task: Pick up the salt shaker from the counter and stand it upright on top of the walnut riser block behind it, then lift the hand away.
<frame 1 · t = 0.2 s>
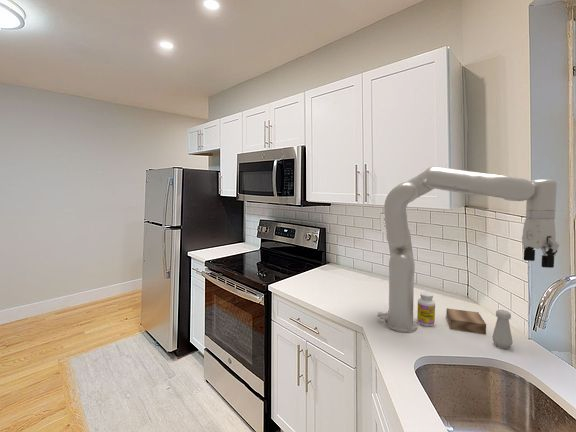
hand: (537, 263, 97), 30 cm above the worktop, tool pointing down, fingers open, 9 cm apart
salt shaker: (501, 346, 100), on the worktop
walnut riser block: (464, 325, 116), on the worktop
supplement bottle: (425, 323, 118), on the worktop
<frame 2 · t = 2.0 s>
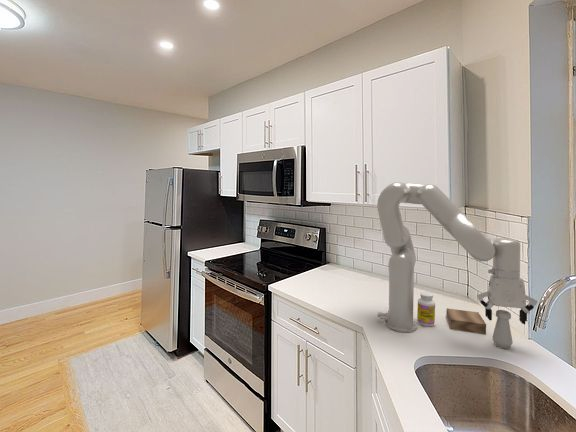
hand: (505, 320, 99), 10 cm above the worktop, tool pointing down, fingers open, 9 cm apart
nothing on the worktop moved.
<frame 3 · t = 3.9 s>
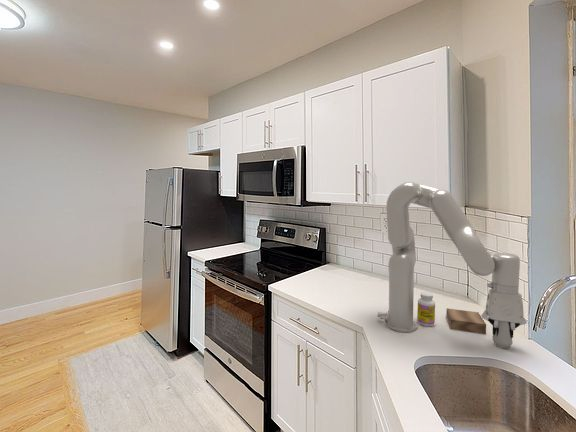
hand: (502, 337, 100), 3 cm above the worktop, tool pointing down, fingers closed on salt shaker, 3 cm apart
salt shaker: (501, 346, 100), on the worktop, touching gripper
everything else where it was.
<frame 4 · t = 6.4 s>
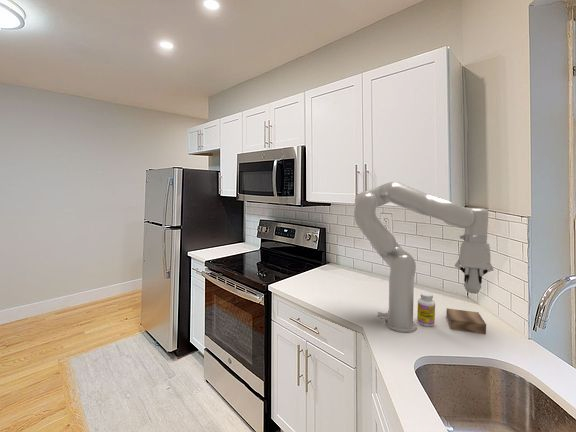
hand: (472, 284, 111), 19 cm above the worktop, tool pointing down, fingers closed on salt shaker, 3 cm apart
salt shaker: (472, 292, 112), point 15 cm above the worktop, touching gripper
everything else where it was.
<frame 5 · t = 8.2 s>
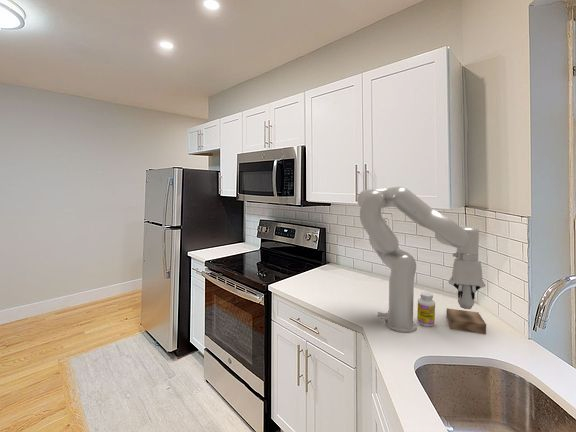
hand: (466, 299, 115), 11 cm above the worktop, tool pointing down, fingers closed on salt shaker, 3 cm apart
salt shaker: (465, 307, 116), point 7 cm above the worktop, touching gripper
everything else where it was.
when the fingers open (9 cm above the worktop, at t = 9.3 s): salt shaker drops 1 cm, resting on walnut riser block.
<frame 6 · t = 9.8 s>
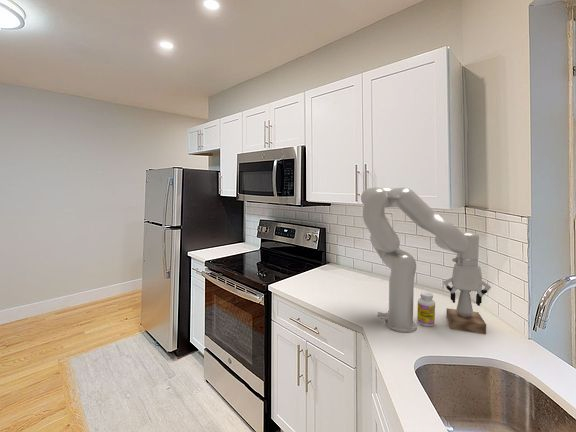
hand: (465, 303, 115), 10 cm above the worktop, tool pointing down, fingers open, 8 cm apart
salt shaker: (464, 316, 116), point 4 cm above the worktop, touching walnut riser block
everything else where it was.
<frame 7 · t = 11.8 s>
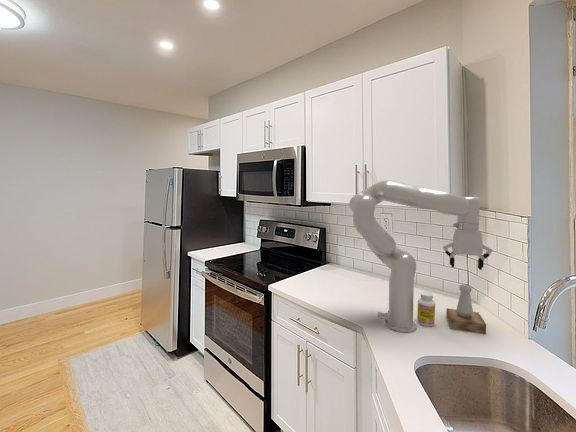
hand: (465, 267, 115), 24 cm above the worktop, tool pointing down, fingers open, 9 cm apart
nothing on the worktop moved.
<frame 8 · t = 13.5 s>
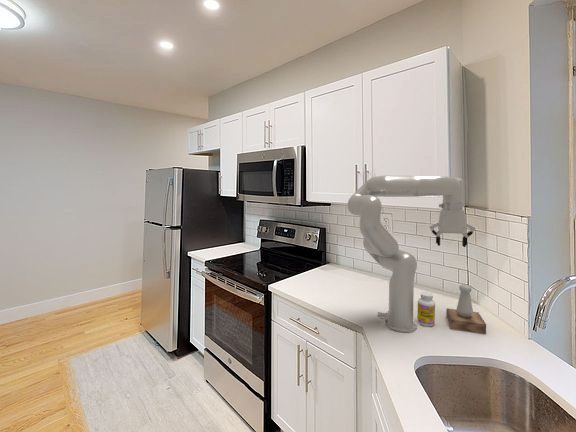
hand: (451, 245, 121), 32 cm above the worktop, tool pointing down, fingers open, 9 cm apart
nothing on the worktop moved.
at the end: salt shaker inside the target area on the walnut riser block (0.2 cm from its centre), point 3.8 cm above the walnut riser block's base; salt shaker tilted 0°; the gripper is holding nothing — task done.
